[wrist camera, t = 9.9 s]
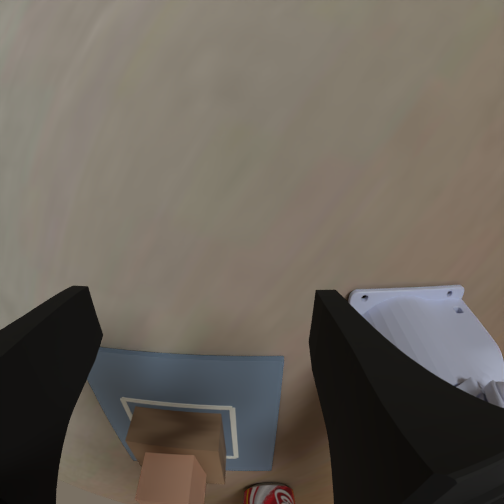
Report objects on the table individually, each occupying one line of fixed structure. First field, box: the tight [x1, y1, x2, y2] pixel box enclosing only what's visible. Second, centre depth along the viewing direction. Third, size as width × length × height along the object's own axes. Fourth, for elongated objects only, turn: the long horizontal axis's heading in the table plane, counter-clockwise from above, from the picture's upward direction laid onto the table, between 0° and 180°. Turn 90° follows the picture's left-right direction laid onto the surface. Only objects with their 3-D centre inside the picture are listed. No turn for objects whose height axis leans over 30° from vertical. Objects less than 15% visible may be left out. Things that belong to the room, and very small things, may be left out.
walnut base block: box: [125, 406, 227, 484], centre depth 26 cm, size 8×8×4 cm
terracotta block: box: [135, 452, 207, 504], centre depth 21 cm, size 4×4×5 cm
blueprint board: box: [87, 347, 284, 471], centre depth 27 cm, size 17×20×1 cm
